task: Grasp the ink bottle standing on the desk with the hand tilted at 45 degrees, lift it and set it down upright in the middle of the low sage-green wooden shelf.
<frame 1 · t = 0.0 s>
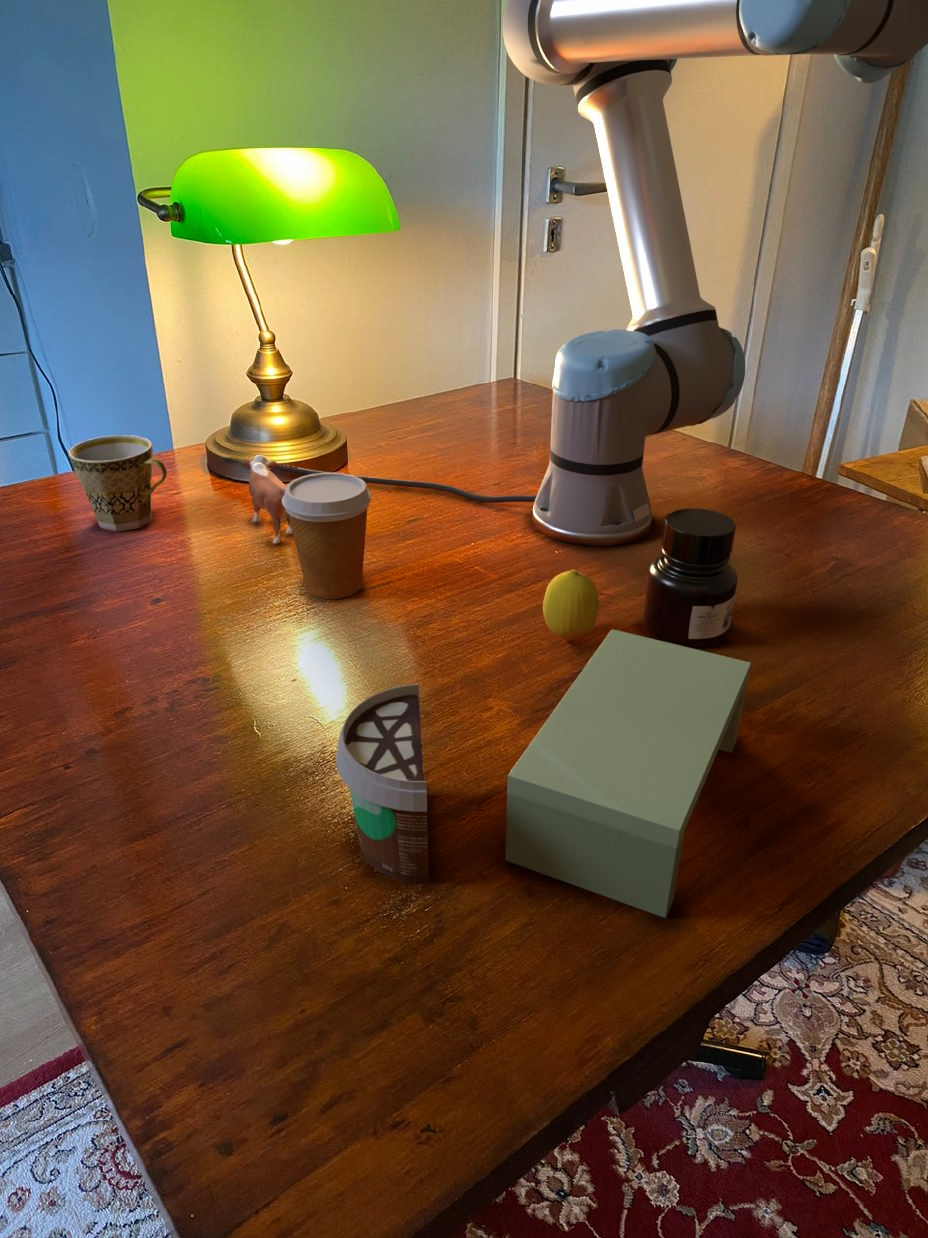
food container: (384, 840, 68), on the table
ink bottle: (685, 628, 95), on the table
ceramic cup: (134, 524, 118), on the table
shelf: (630, 795, 72), on the table
disposable coffee cup: (333, 587, 103), on the table
lemon: (568, 641, 93), on the table
bull figurine: (273, 528, 117), on the table
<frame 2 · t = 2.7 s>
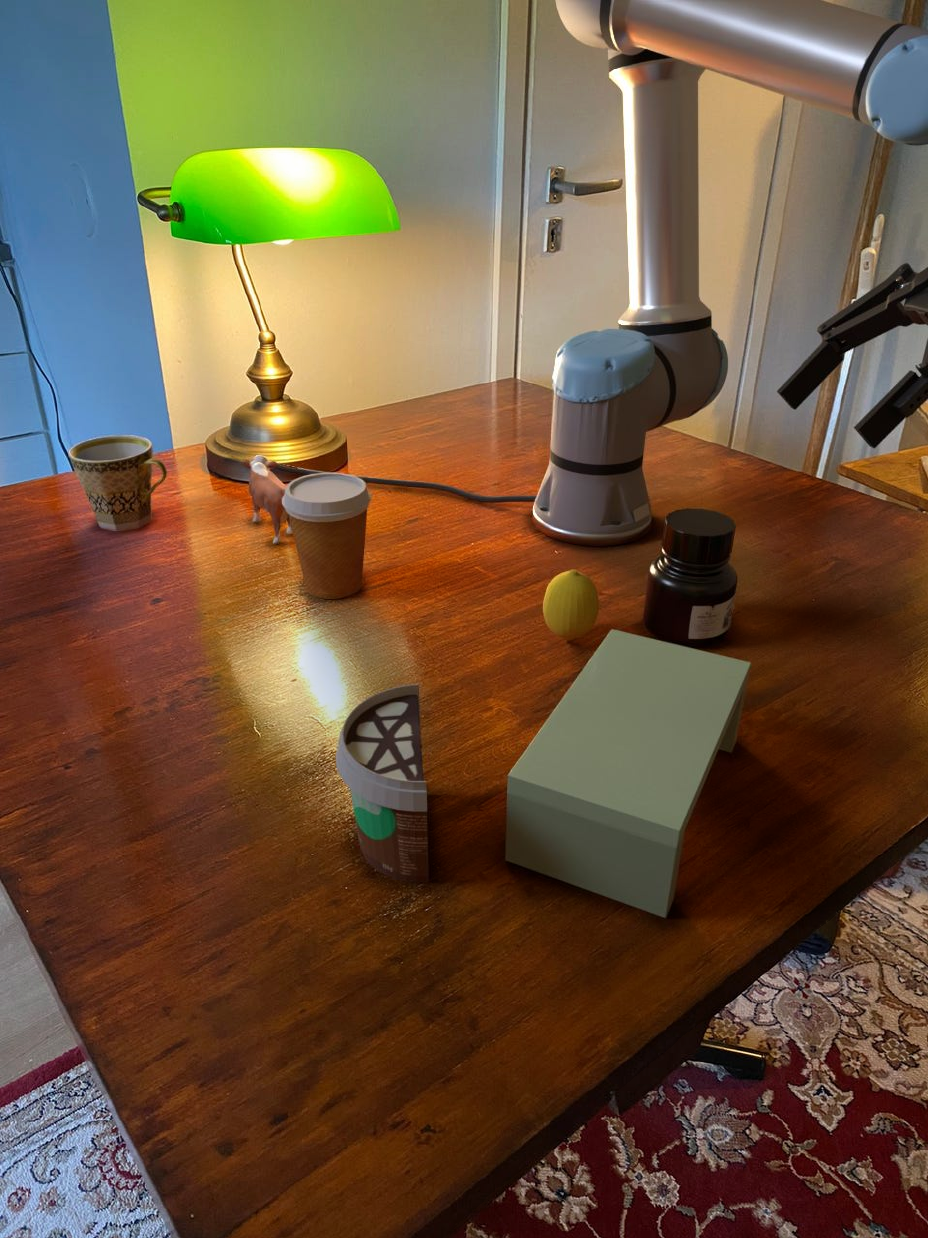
hand: (821, 418, 86), 22 cm above the table, tool tilted 45°, fingers open, 13 cm apart
nothing on the table moved.
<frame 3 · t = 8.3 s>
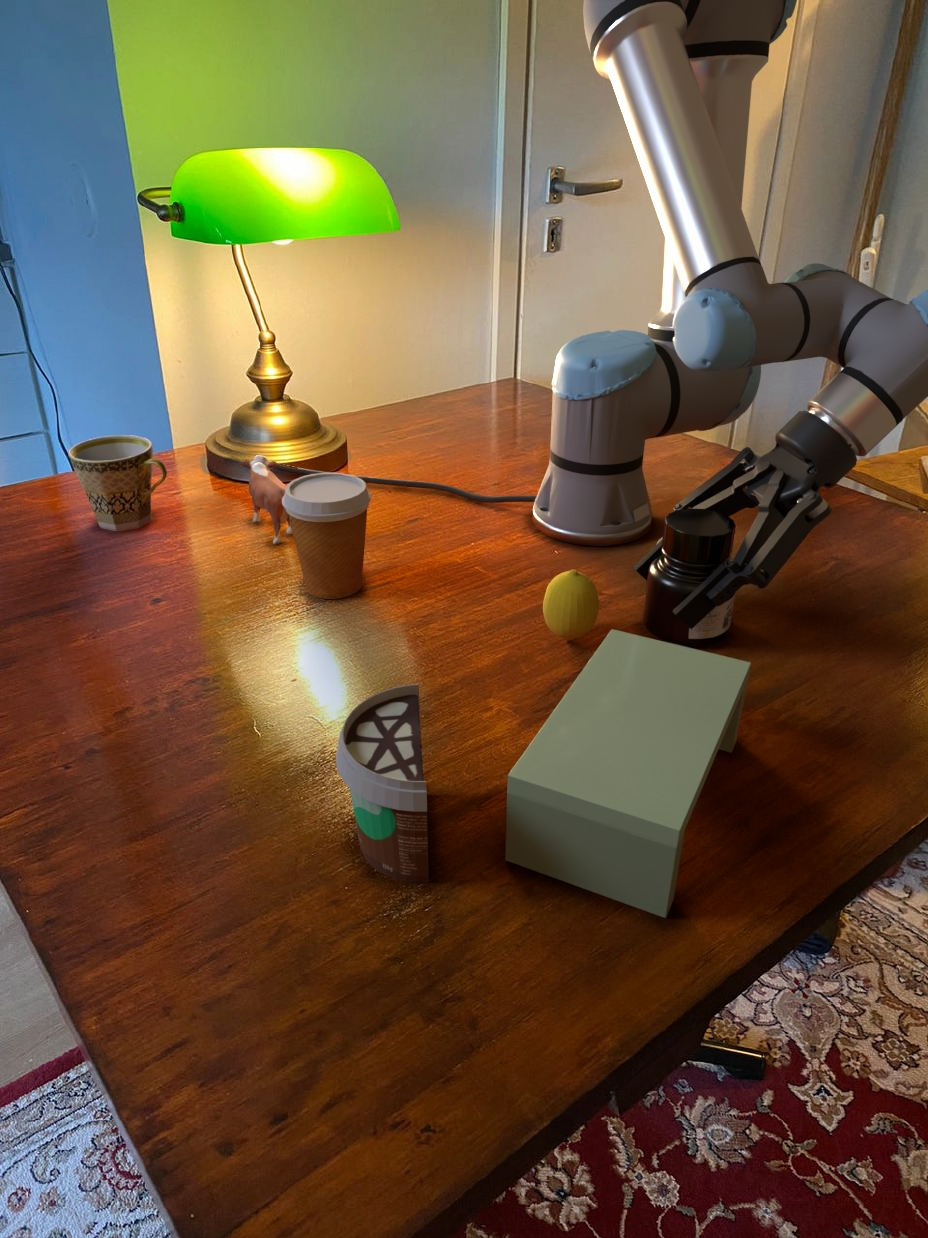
hand: (661, 597, 92), 4 cm above the table, tool tilted 45°, fingers closed on ink bottle, 9 cm apart
ink bottle: (685, 628, 95), on the table, touching gripper
everything else where it was.
when the fingers open (12 cm above the table, at t = 17.9 s): ink bottle stays where it is, resting on shelf.
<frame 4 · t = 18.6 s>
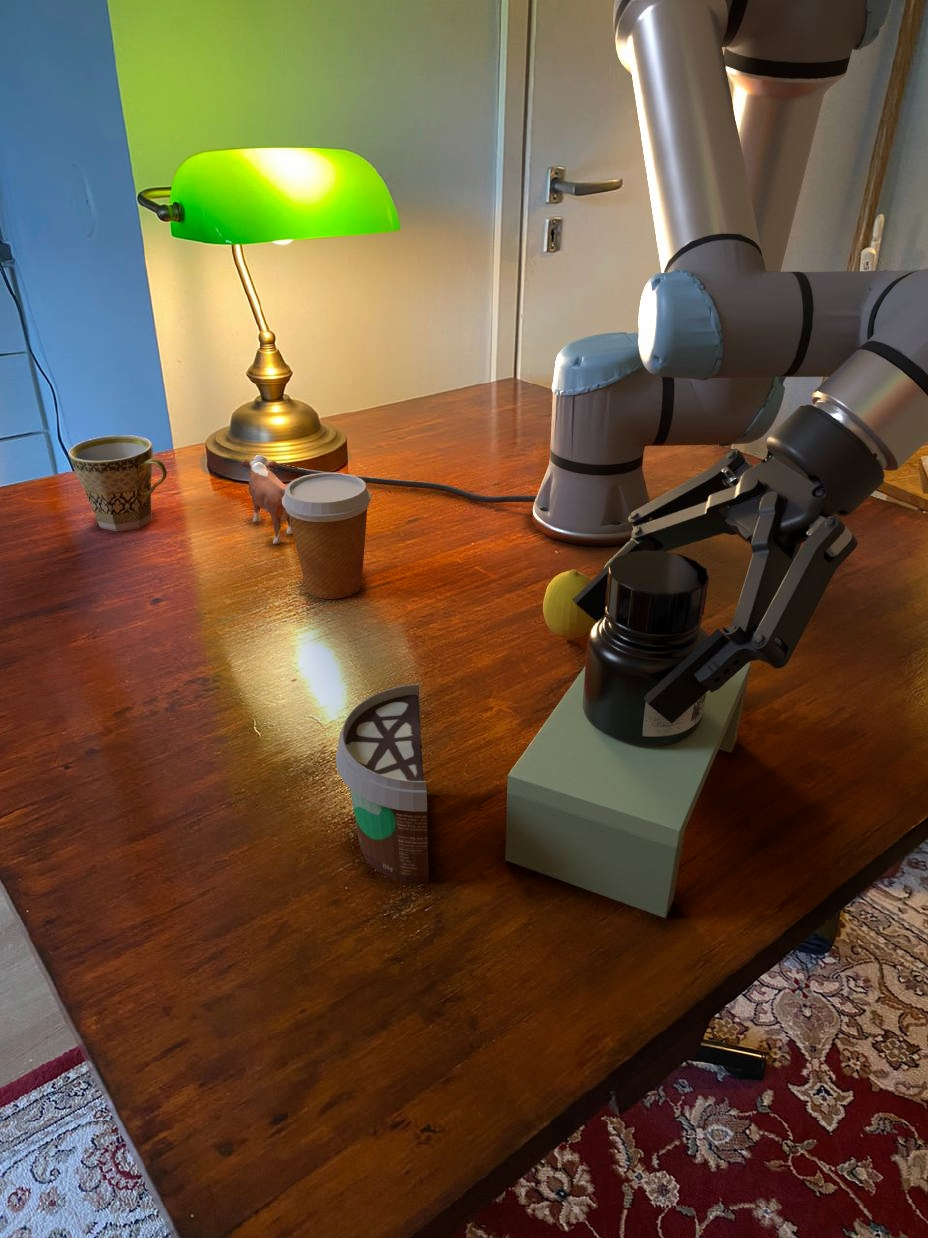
hand: (617, 657, 65), 13 cm above the table, tool tilted 45°, fingers open, 13 cm apart
ink bottle: (640, 715, 68), point 8 cm above the table, touching shelf
everything else where it was.
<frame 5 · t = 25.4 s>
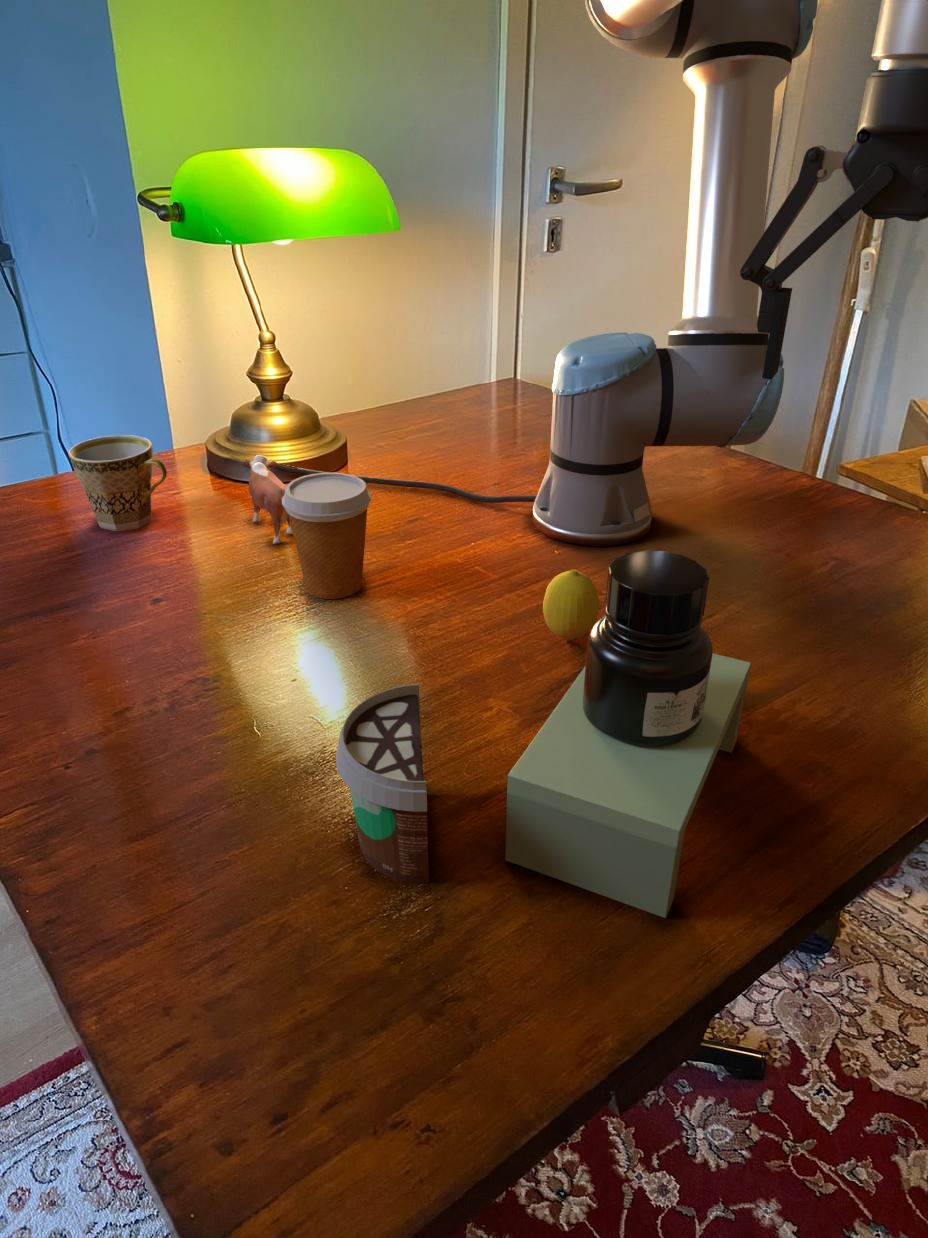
hand: (859, 386, 71), 29 cm above the table, tool pointing down, fingers open, 13 cm apart
nothing on the table moved.
at the end: ink bottle inside the target area on the shelf (0.0 cm from its centre), point 7.8 cm above the shelf's base; ink bottle tilted 0°; the gripper is holding nothing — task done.
